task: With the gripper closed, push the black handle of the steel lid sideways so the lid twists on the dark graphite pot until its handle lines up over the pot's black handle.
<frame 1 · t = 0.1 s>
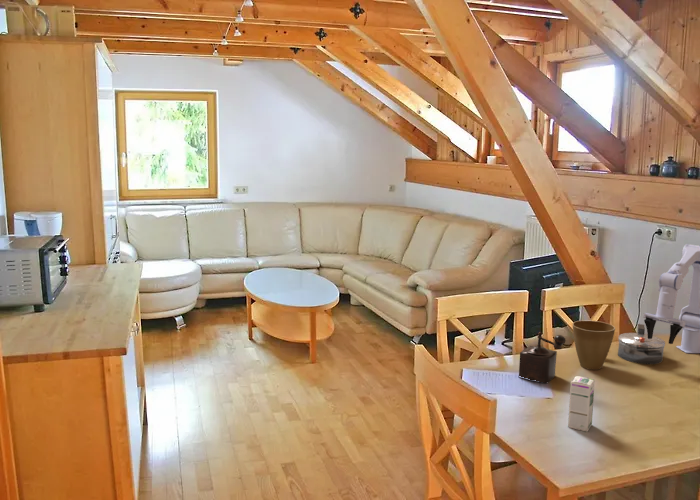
hand: (660, 341, 238), 11 cm above the table, tool pointing down, fingers open, 7 cm apart
manual coffee grinder: (543, 378, 228), on the table
lid: (641, 336, 252), point 8 cm above the table, hinge at -25.0°
sprinkles bottle: (585, 354, 255), on the table
plant pot: (590, 366, 241), on the table
syrup box: (579, 426, 191), on the table
pot: (639, 357, 251), on the table
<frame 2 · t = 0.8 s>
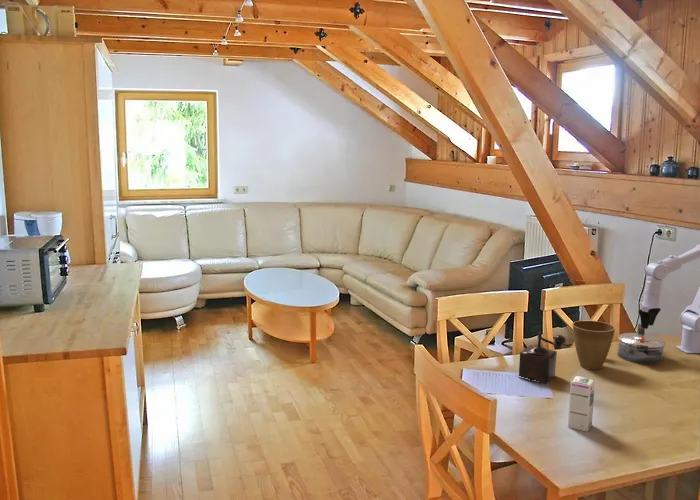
hand: (647, 326, 254), 11 cm above the table, tool pointing down, fingers open, 7 cm apart
nothing on the table moved.
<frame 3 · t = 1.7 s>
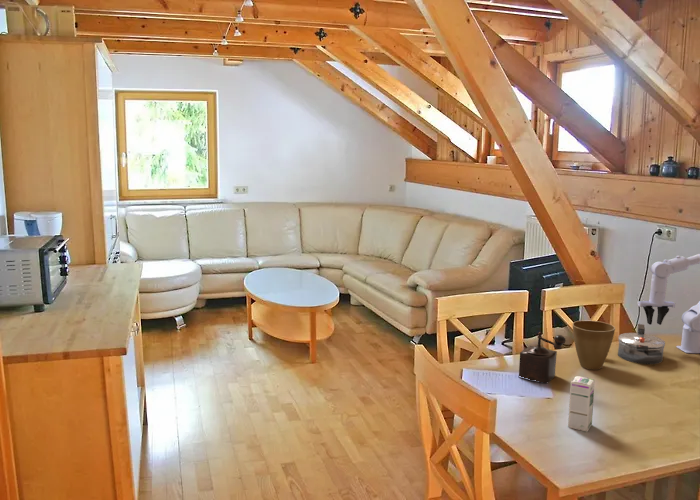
hand: (654, 323, 260), 10 cm above the table, tool pointing down, fingers open, 3 cm apart
nothing on the table moved.
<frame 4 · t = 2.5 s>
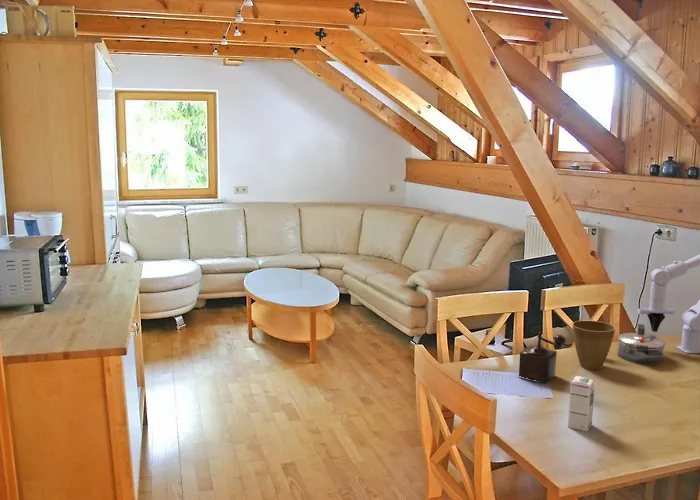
hand: (654, 331, 261), 7 cm above the table, tool pointing down, fingers closed
nothing on the table moved.
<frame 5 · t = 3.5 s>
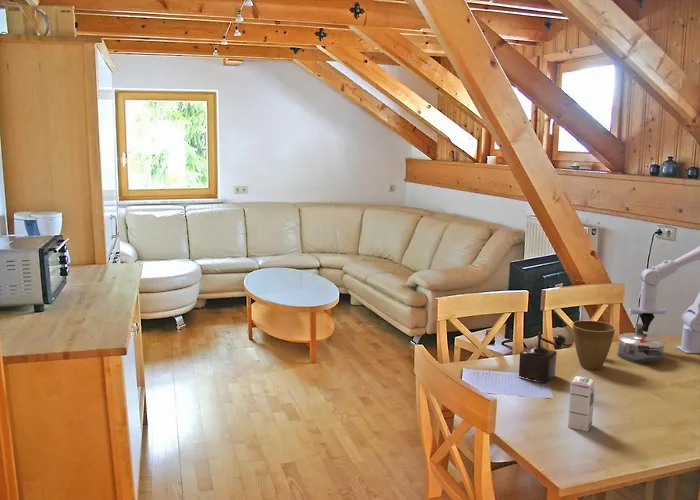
hand: (645, 331, 261), 7 cm above the table, tool pointing down, fingers closed
lid: (641, 336, 252), point 8 cm above the table, hinge at -21.9°, touching gripper
everything else where it was.
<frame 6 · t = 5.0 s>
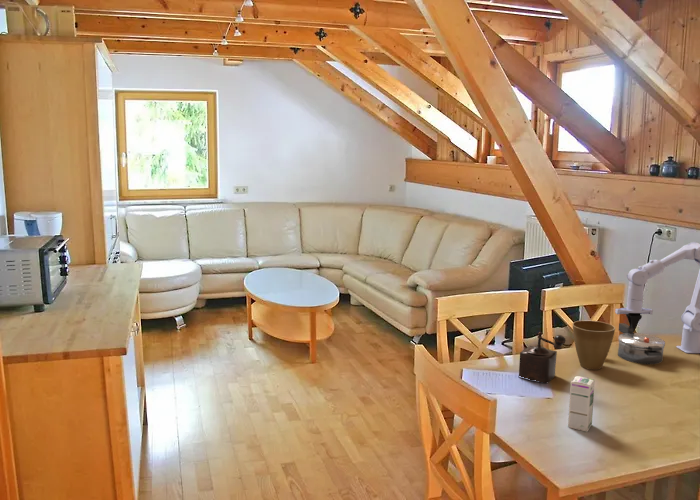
hand: (632, 331, 261), 7 cm above the table, tool pointing down, fingers closed
lid: (638, 336, 252), point 8 cm above the table, hinge at 4.2°, touching gripper
everything else where it was.
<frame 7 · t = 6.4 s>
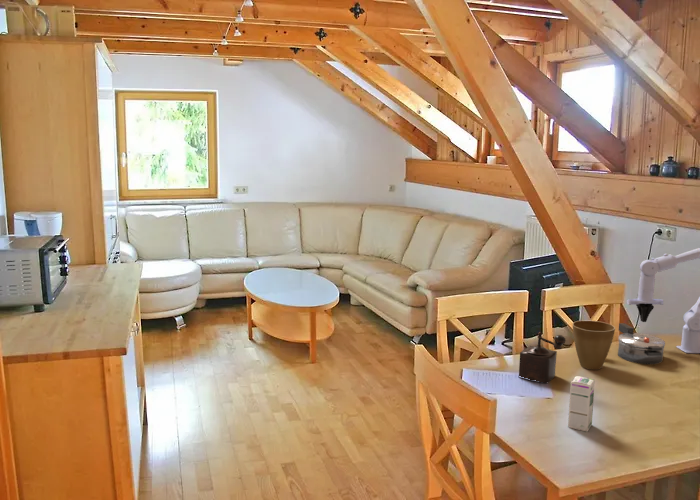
hand: (643, 321, 264), 10 cm above the table, tool pointing down, fingers closed
lid: (638, 336, 252), point 8 cm above the table, hinge at 4.2°
everything else where it was.
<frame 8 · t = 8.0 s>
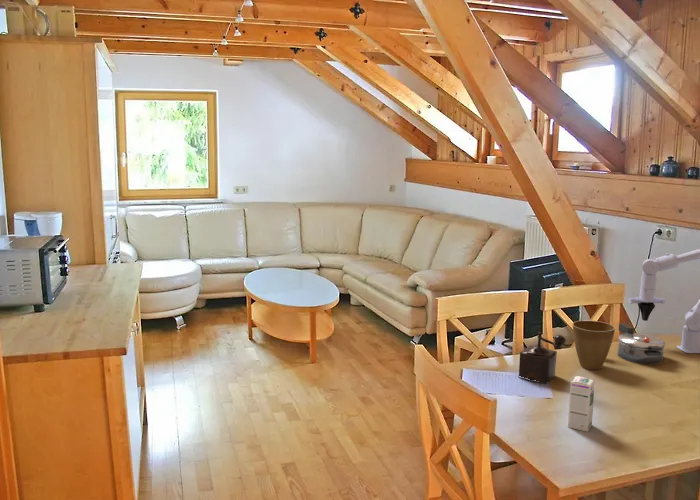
hand: (644, 320, 266), 10 cm above the table, tool pointing down, fingers closed
nothing on the table moved.
at the end: lid at +4° (first picture: -25°) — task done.
